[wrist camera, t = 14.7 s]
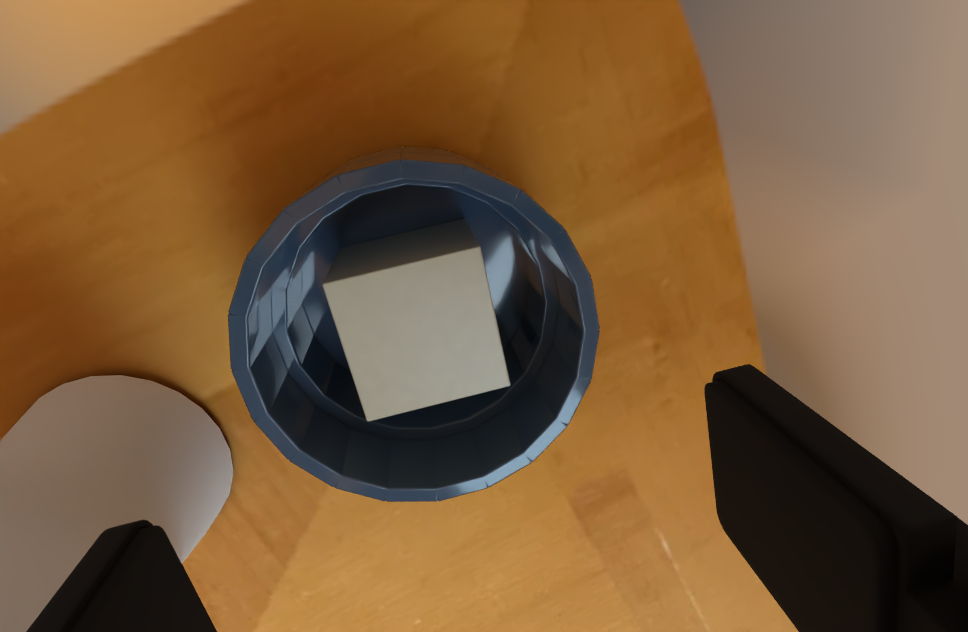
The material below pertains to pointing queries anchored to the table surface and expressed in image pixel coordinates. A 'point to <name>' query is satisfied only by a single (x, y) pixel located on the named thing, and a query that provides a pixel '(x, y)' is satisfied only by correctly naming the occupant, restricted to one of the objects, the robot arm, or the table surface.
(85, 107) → the table surface
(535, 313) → the bowl
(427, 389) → the block
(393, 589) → the table surface
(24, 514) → the cup
